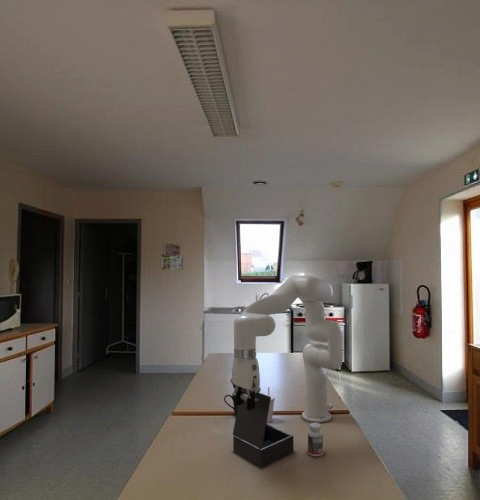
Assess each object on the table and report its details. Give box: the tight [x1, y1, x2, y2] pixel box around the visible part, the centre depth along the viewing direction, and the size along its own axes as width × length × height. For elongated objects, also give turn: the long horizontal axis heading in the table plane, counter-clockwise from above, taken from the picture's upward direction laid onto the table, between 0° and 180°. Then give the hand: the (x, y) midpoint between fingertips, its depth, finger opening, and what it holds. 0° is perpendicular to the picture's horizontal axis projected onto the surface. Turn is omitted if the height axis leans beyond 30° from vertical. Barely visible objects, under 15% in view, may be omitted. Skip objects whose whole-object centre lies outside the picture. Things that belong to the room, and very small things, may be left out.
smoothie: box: [266, 386, 276, 423], centre depth 163 cm, size 6×6×14 cm
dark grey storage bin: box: [232, 423, 295, 469], centre depth 135 cm, size 16×15×6 cm
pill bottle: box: [307, 422, 324, 457], centre depth 134 cm, size 5×5×10 cm
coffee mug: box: [223, 390, 238, 418], centre depth 169 cm, size 12×9×10 cm
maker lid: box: [232, 388, 271, 449], centre depth 130 cm, size 16×15×5 cm
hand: (245, 406), depth 130 cm, fingers closed on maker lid, 5 cm apart
